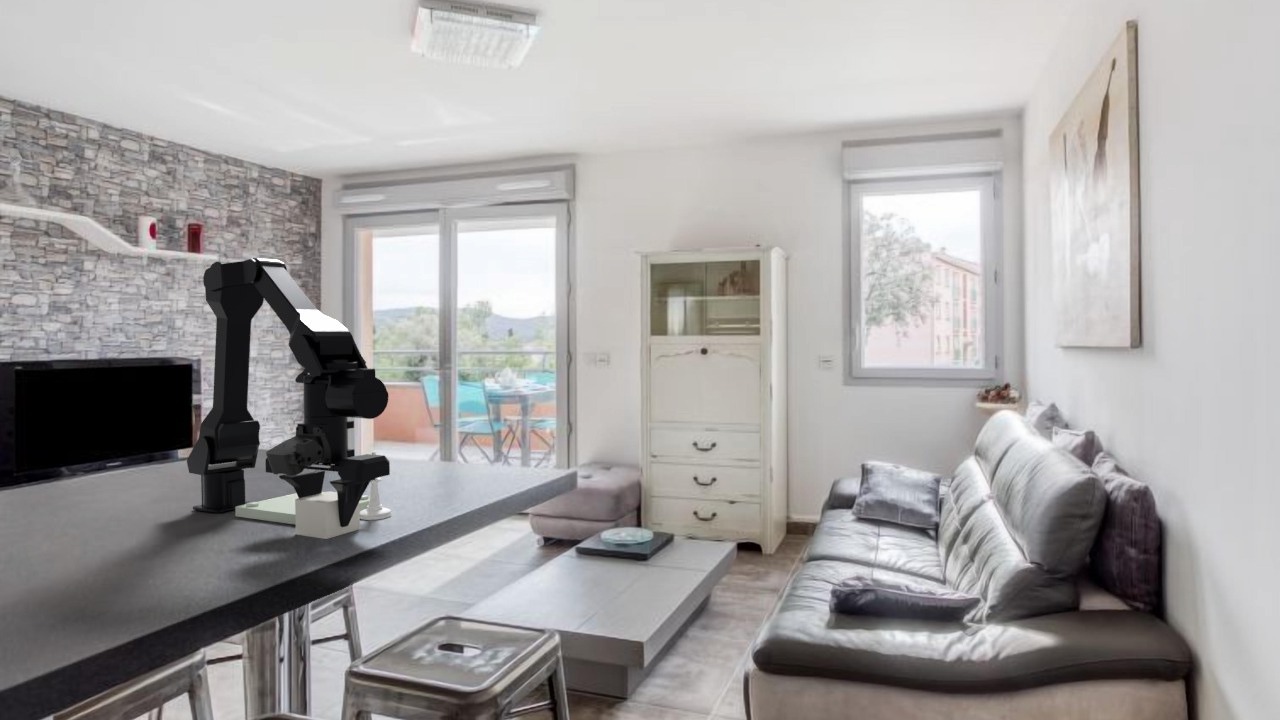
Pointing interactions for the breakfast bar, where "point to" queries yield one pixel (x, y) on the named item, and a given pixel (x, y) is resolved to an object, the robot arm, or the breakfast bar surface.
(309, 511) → the brick
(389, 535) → the breakfast bar surface
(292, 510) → the baseplate
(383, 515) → the chess piece
